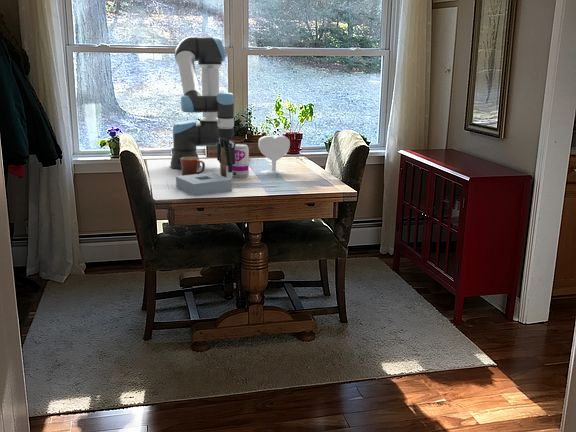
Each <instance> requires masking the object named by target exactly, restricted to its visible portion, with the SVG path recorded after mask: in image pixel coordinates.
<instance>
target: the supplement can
mask: <svg viewBox="0 0 576 432" xmlns="http://www.w3.org/2000/svg"><path fill="white" fill-rule="evenodd" d="M249 155H250V151H249V146H248V145H247V144H244V143H237V144H236V143H235V164H233V165H232V178H233V177H234V178H246V177H248V176H249V175H250V173H249V171H250V167H249V166H250V164H249V162H250V161H249V159H250V158H249V157H250V156H249Z"/></svg>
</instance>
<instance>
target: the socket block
mask: <svg viewBox="0 0 576 432" xmlns="http://www.w3.org/2000/svg"><path fill="white" fill-rule="evenodd" d="M175 188H176V189H179V190H181V191H183V192H185V193H188V194H190V195H192V196H193V197H196V196H203V195H210V194H211V195H212V194H219V193H227V192H232V190H233V180H232V179H229V178H226V177H223V176H221V175H220V174H218V173H215V172H204V173H203V172H202V173H200V174H193V175H184V176H182V175H177V176H175Z"/></svg>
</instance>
